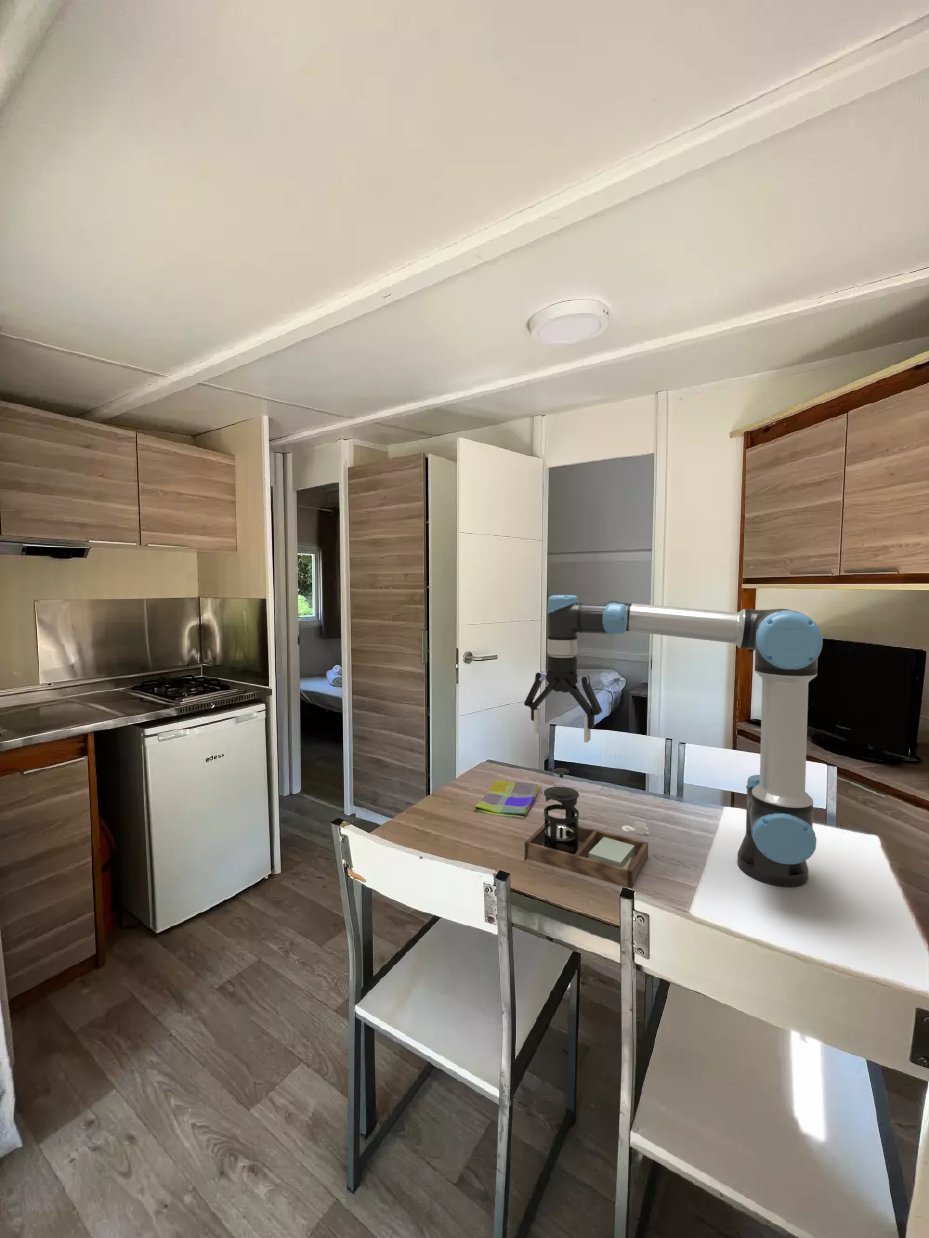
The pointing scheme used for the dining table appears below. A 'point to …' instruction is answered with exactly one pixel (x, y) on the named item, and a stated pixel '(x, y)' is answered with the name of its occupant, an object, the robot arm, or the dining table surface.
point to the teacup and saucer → (637, 828)
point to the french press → (561, 832)
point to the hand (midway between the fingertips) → (561, 737)
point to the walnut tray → (581, 860)
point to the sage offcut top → (612, 852)
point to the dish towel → (509, 799)
